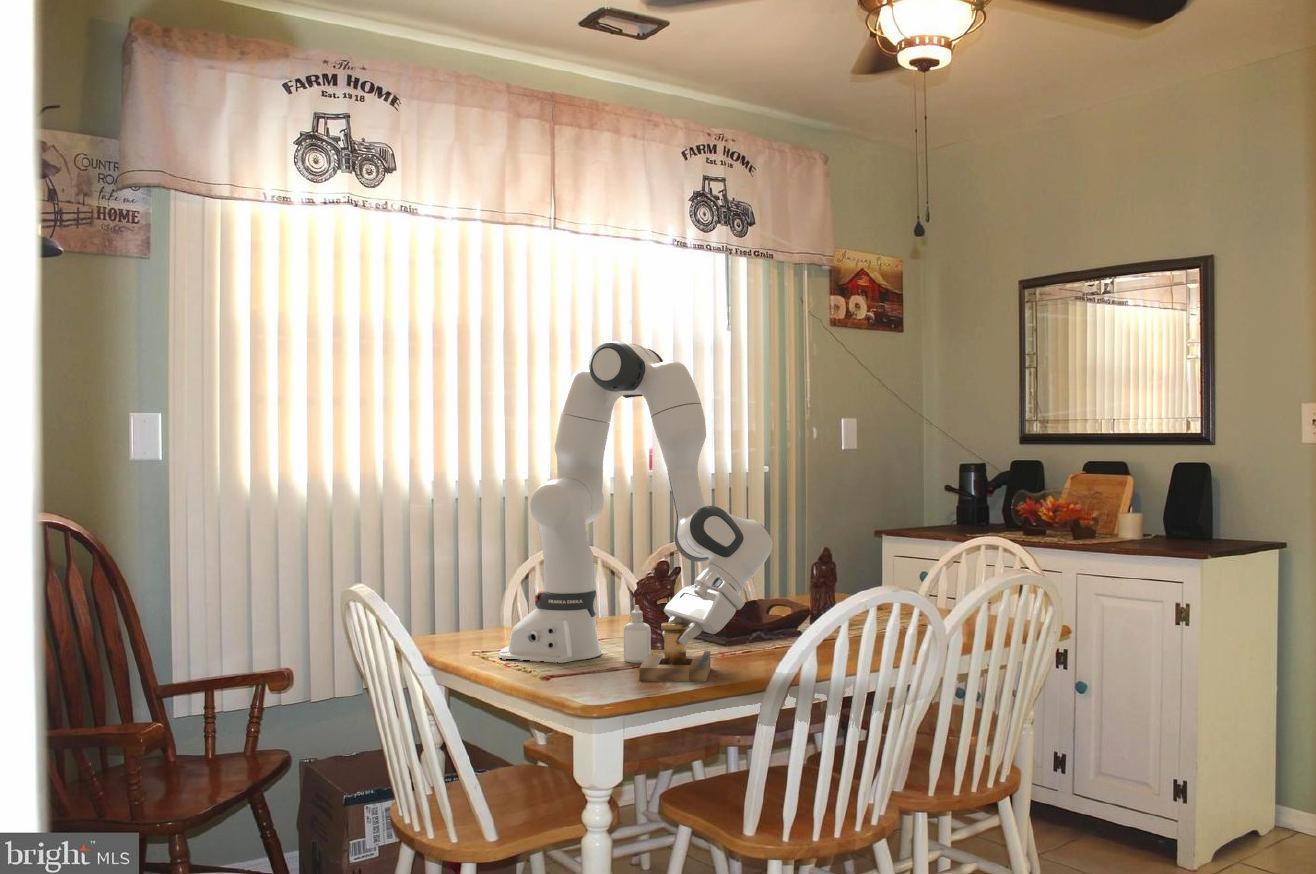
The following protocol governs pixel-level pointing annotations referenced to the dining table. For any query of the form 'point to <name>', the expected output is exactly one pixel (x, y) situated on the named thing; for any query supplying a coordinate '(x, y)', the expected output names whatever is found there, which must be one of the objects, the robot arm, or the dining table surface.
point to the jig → (675, 669)
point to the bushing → (674, 643)
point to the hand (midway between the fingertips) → (672, 640)
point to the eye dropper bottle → (637, 638)
